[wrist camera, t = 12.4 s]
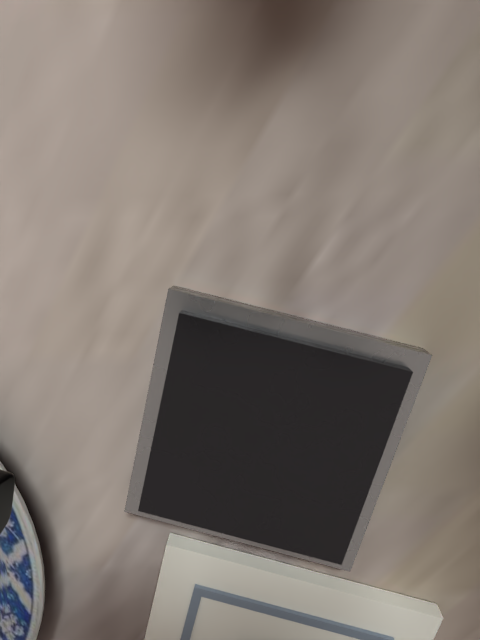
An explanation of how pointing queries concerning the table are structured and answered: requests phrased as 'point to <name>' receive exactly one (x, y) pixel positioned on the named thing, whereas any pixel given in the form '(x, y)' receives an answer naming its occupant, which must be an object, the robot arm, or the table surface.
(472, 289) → the table surface
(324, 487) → the ink pad
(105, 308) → the table surface
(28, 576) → the ceramic plate
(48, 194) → the table surface
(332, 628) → the white flat square panel
